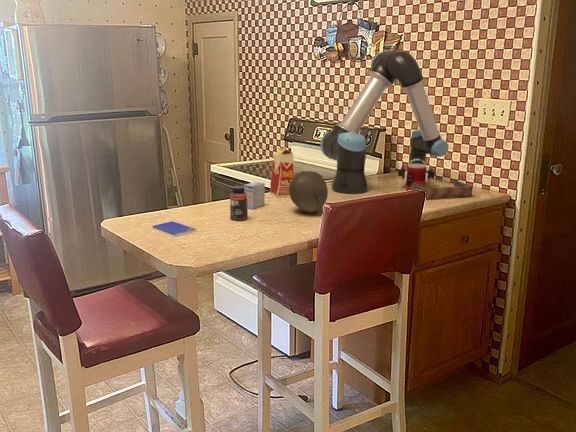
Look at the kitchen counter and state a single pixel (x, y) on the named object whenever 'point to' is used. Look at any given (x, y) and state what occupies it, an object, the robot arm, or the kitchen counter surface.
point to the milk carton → (282, 173)
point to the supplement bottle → (238, 204)
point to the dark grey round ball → (308, 191)
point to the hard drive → (174, 228)
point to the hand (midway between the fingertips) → (416, 177)
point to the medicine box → (255, 194)
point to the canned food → (415, 175)
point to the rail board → (446, 191)
